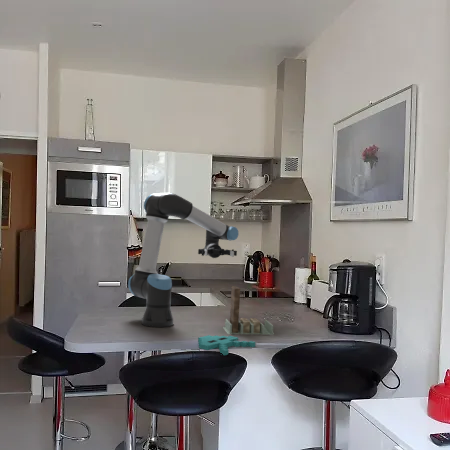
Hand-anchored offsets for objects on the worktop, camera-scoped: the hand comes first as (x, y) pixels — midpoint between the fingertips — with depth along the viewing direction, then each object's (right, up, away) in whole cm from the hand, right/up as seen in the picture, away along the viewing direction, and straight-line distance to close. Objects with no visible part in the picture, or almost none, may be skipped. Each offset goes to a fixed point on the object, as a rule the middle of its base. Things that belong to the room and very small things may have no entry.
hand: (219, 253), depth 233 cm
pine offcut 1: (+12, -35, -18) cm, 41 cm away
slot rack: (+13, -36, -18) cm, 42 cm away
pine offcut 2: (+16, -35, -17) cm, 42 cm away
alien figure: (+1, -36, -42) cm, 55 cm away
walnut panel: (+7, -34, -19) cm, 40 cm away
